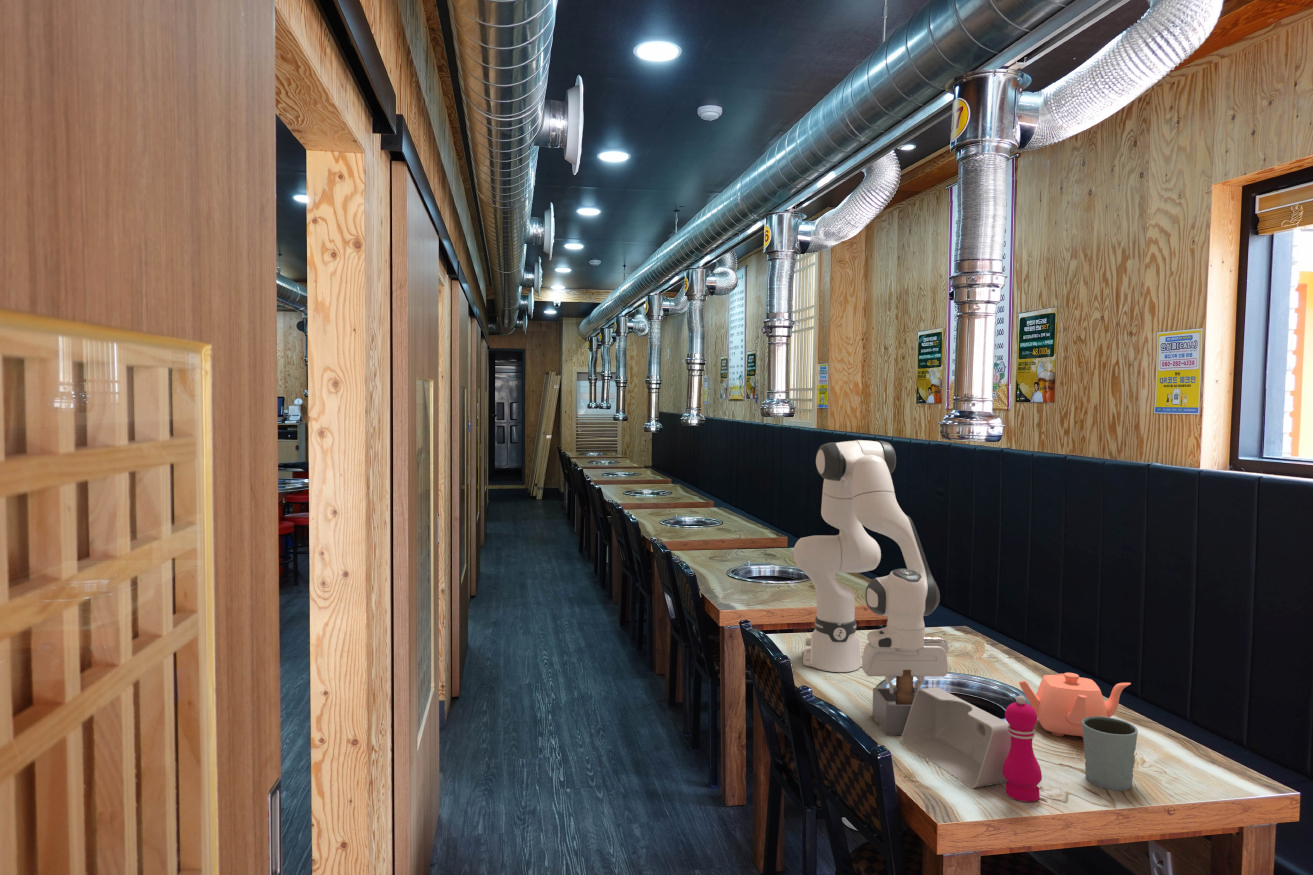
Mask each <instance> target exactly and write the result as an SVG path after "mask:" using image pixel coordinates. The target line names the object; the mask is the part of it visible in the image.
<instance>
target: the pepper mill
mask: <svg viewBox="0 0 1313 875" xmlns="http://www.w3.org/2000/svg"><path fill="white" fill-rule="evenodd" d="M1026 700H1027V699H1026V697H1025V696H1023V695H1018V696H1016V698H1015V701H1016V702H1012V703H1010V704H1009V705H1008V706H1007V707H1006V709H1005V712H1004V718H1005V722H1007V723H1009V726H1008V729H1009V730H1008V734H1009V735H1010V737H1011V747H1010V751H1009V753H1008V755H1007V757H1006V759H1005V761H1004V765H1003V775H1004V777H1005V779H1006V780H1007V781H1008V782H1005V785H1004V786H1005V795H1007V796H1008V797H1009V798H1011V799H1013V800H1016V801H1020V802H1035V801H1038V800H1039V799H1040V788H1039V786H1038V785H1039V784H1040V782H1042V779H1043V776H1042V769H1041V767H1040V763H1039V762H1038V760H1037V758H1036V755H1035V753H1034V749H1033V748H1034V747H1033V739H1034V738H1035V737H1036V734H1035V733H1036V729H1035V728H1034V727H1035V726H1036V725H1037V723H1038V721H1039V720H1038V718H1037V713H1036V711H1035V710H1034V708H1033V707H1032V706H1031V704H1028V703H1026V702H1027V701H1026Z"/></svg>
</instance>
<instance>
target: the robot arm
mask: <svg viewBox="0 0 1313 875" xmlns="http://www.w3.org/2000/svg"><path fill="white" fill-rule="evenodd" d="M815 465H816V470H817V473H818V474H819V476H821V477H822V478H823V483H822V493H821V494H822V495H821V508H820V509H821V510H820V513H821V514H820V515H821V517H822V519H823V520H824V522H825V523H827V525H830V526H831V527H834V528H835V529H838V530H839V533H838V534H836V535H829V534H828V535H826V534H825V535H824V534H823V535H820V534H819V535H816V534H815V535H810V536H805V537H800V538H799V539H798V540H797V541H796V543H795V545H794V547H793V552H792V554H793V560H794V563H795V565H796V566H797V567H798V569H800V570H801V571H803V573H804V574H806V576H807V577H808V578H809V580H810V581H811V583H812V585H813V587H814V590H815V596H816V616H815V619H814V630H813V631H812V632H811V634H810V637H806V638H805V647H804V648H803V652H802V653H803V656H802V665H804V666H807V667H811V668H812V667H813V668H814V669H818V670H821V671H825V672H833V673H849V672H853V671H856V670H859V669H860V668H862V671H863V672H864V674H865V676H868V677H884V678H885V680H886V682H887V684H888V686H889V687H888V688H889V692H890V693H891V694H897V686H896V684H893V683H892V682H893V681H894V677H896V676H902V675H903V670H911V676H912V677H913V678H915V679H917V680H916V681H915V683H914V684H913V694H916V692H917V691H918V690H919V689H920V688H921V687H922V685H923V683H924V682H925V678H926V677H927V678H928V677H929V678H932V677H933V678H937V677H939V678H941V677H942V678H944V677H946V676H947V674H948V673H949V665H948V663H949V662H948V657H947V654H948V652H949V644H948V642H947V640H945V639H943V638H942V637H929V636H928V637H925V636H926V635H925V633H926V632H925V628H926V626H925V625H926V624H925V621H924V617H927V616H930V615H931V614H932V613H933V612H934V611H935V610H936V609H937V607H938V605H939V604H940V601H941V600H940V599H941V594H940V589H939V587H938V585H937V582H936V581H935V579H934V576H933V575H932V573H931V569H930V567H929V564H928V561H927V558H926V554H925V552H924V549H923V546H922V543H921V541H920V538H919V535H918V531H917V529H916V526H915V524H914V522H913V520H912V518H911V517H910V516H909V515H907V514H905V512H904V511H903V510H902V508H901V507H900V505H899V503H898V501H897V498H896V493H895V487H894V484H893V479H892V474H893V472H894V471H895V469H896V465H897V456H896V451H895V449H894V446H892V444H891V443H890V442H887V441H884V440H875V441H874V440H863V439H855V440H848V441H847V440H845V441H840V442H839V441H838V442H834V441H833V442H827V443H824V444H821V445H820V446H819V448H818V449H817V452H816V457H815ZM864 527H865V528H866V529H868V530H870V531H872V532H876V533H878V534H881V535H884V536H886V537H888V538H890V539H892V540H893V541H894V542H895V543H896V544H897V545H898V546H899V548H900V551H901V552H902V553H901V554H902V556H903V560H904V564H905V566H906V568H897V569H896V568H895V569H894V570H892V571H890V573H889V574H888V575H885V576H880V577H875V578H872V579H871V580H870V581H869V583H868V584H867V586H866V588H865V595H864V596H865V604H866V606H867V608H868V609H869V610H870V611H871V612H873V614H875V615H878V616H886V617H887V622H886V626H885V627H882V628H879V629H875V630H872V631H869V632H867V636H866V638H867V641H868V642H867V643H866V644H865V646H864V648H863V654H862V642H861V638H860V636H859V635H857V633H856V632H857V631H856V630H857V619H856V618H855V615H856V614H855V612H856V611H855V608H856V596H855V593H854V591H853V590H852V589H851V588H850V587H848V586H847V585H845V584H843V583H841V582H839V581H837V580H836V574H839V573H842V574H843V573H847V574H849V573H851V574H852V573H853V574H857V573H859V574H860V573H864V572H870V571H873V570H875V569H876V568H877V567H878V566H879V564H880V562H881V558H882V553H881V552H882V551H881V547H880V544H878V542H877V541H876V539H874V537H872V536H871V535H869V534H868V532H867V531H866V530H865V528H864Z"/></svg>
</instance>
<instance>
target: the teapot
mask: <svg viewBox="0 0 1313 875" xmlns="http://www.w3.org/2000/svg"><path fill="white" fill-rule="evenodd" d="M1039 683H1040V684H1039V686H1038V688H1037V692H1036V693H1035V692H1034V690H1033V689H1032V688H1031V686H1030V684H1028V682H1027V680H1025V681H1023V680H1020V681H1019V680H1018V684H1019V685H1018V686H1020V688H1021V690H1022V692H1023V694H1024V695H1025V698H1026V700H1027V701H1028V703H1029V705H1030V706H1031V707H1033V708H1034V710H1035V711H1036V713H1037V718H1038V720H1037V721H1039V724H1040V725H1041V727H1042V728H1043V729H1044V730H1045V731H1048V732H1051V735H1052V736H1055V737H1059V738H1060V737H1064V735H1067V736H1068V735H1069V736H1074V737H1075V736H1077V737H1081V738H1082V739H1083V729H1082V720H1083V719H1084V718H1087V717H1092V716H1103V717H1110V718H1112V716H1114V715H1115V714H1116V712H1117V710H1118V707H1119V702H1120V698H1121V697H1120V696H1121V694H1122V692H1123V690H1124V689H1125V688H1127V687H1128V686H1130V685H1131V684H1132V683H1131V682H1119V683H1116V684H1115V685H1114V686H1113V688H1112V690H1111V692H1110V696H1109V698H1108V699H1107V700H1106V701H1105V700H1104V695H1103V694H1102V691H1101V689H1100V687H1099V686H1098V684H1097V683H1096V682H1095V681H1094V680H1093V679H1091V678H1088V677H1087V678H1086V677H1080V675H1079V674H1077V673H1073V672H1064V673H1057V674H1044V675H1043V676H1042V679H1041V681H1040V682H1039Z"/></svg>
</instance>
